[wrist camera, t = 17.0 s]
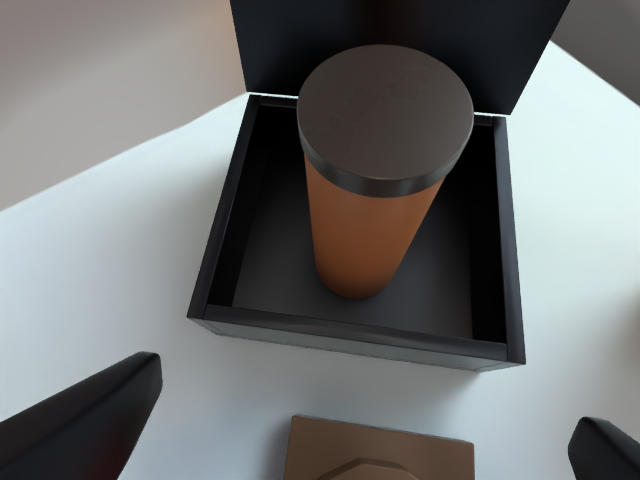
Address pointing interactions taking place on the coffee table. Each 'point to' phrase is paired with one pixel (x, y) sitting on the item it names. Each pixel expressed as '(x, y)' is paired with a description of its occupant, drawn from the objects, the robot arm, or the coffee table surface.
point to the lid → (398, 40)
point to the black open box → (408, 281)
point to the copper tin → (376, 157)
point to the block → (372, 453)
